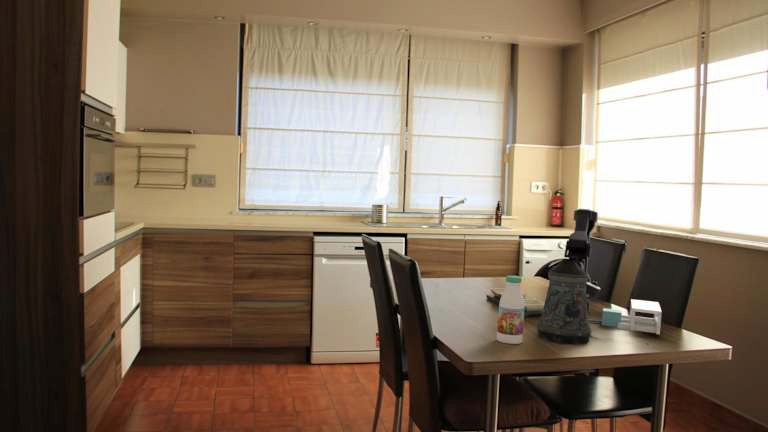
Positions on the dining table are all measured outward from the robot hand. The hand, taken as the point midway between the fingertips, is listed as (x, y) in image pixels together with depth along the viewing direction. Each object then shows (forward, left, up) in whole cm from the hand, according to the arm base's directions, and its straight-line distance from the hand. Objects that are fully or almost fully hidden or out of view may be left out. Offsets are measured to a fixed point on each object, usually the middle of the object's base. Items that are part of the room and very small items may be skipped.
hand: (572, 317), depth 221 cm
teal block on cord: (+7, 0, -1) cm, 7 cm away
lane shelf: (+17, +4, -2) cm, 18 cm away
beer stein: (-2, -22, -2) cm, 22 cm away
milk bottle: (-16, -37, -2) cm, 40 cm away
